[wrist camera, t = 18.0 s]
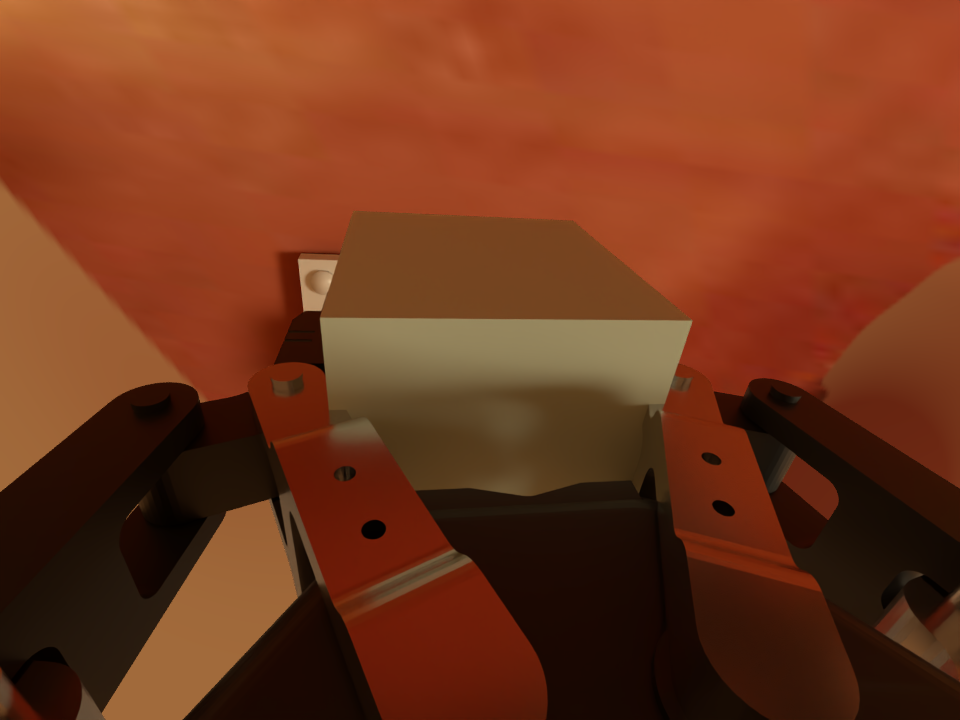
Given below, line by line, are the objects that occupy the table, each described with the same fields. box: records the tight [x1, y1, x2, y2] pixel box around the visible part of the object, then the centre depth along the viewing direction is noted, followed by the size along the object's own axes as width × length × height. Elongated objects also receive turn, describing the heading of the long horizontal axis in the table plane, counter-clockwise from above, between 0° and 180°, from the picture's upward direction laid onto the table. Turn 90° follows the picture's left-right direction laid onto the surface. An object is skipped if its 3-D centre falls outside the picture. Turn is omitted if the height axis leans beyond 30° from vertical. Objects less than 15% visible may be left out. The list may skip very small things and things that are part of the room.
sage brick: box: [320, 211, 692, 496], centre depth 11 cm, size 6×6×6 cm
